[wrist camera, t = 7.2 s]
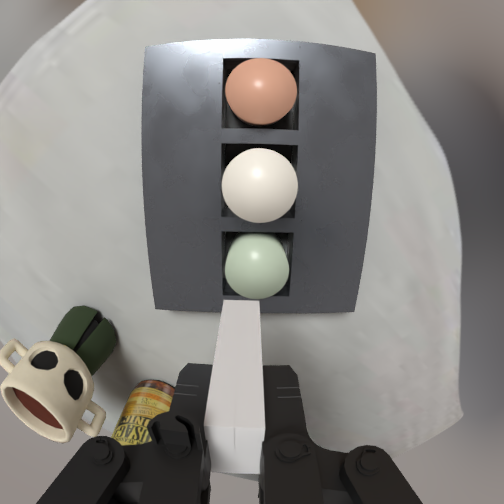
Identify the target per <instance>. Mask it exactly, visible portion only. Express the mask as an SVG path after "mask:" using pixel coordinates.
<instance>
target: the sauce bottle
mask: <svg viewBox="0 0 504 504" xmlns="http://www.w3.org/2000/svg"><path fill="white" fill-rule="evenodd" d="M174 390H175V389H174V388H173V387H171V386H170V385H168V384H166V383H164V382H160V381H156V380H146V381H141V382H140V383H139V384H138V385H137V386H136V387H135V389H134V390H133V391H132V392H131V394H130V396H129V398H128V401H127V403H126V405H125V407H124V409H123V412H122V414H121V416H120V418H119V420H118V422H117V425H116V427H115V429H114V432H113V434H112V436H111V438H114V439H115V440H116V441H118V442H119V443H120V444H121V445H135V444H143V443H148V442H150V441H152V440H151V437H150V435H149V432H148V430H147V425H148V423H149V422H150V420H151V419H152V418H154V417H155V416H156V415H158V414H161V413H164V412H167V411H169V409H170V405H171V401H172V398H173V395H174Z"/></svg>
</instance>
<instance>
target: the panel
mask: <svg viewBox="0 0 504 504" xmlns="http://www.w3.org/2000/svg"><path fill="white" fill-rule="evenodd" d="M255 58H267V59H271V60H274V61H277V62H279V63H280V64H282V65H284V66H285V67H286V68H287V69H288V70H289V71H293V77H294V79H295V82H296V86H297V96H296V100H295V103H294V105H293V128H292V130H282V129H250V128H225V124H226V92H225V88H226V79H227V69H235V68H236V67H237V66H238V65H239V64H241V63H243V62H245V61H247V60H250V59H255ZM376 117H377V83H376V55H375V53H371V52H366V51H361V50H356V49H351V48H345V47H339V46H332V45H326V44H318V43H309V42H300V41H288V40H271V39H215V40H198V41H186V42H176V43H168V44H160V45H154V46H147V47H145V57H144V71H143V90H142V177H143V197H144V212H145V225H146V237H147V247H148V256H149V265H150V273H151V281H152V289H153V296H154V302H155V309H162V310H179V311H200V312H222V307H223V302H224V300H248V301H259V304H260V313H335V312H354V310H355V305H356V300H357V295H358V290H359V284H360V279H361V273H362V267H363V261H364V254H365V248H366V241H367V234H368V226H369V218H370V209H371V200H372V189H373V177H374V164H375V146H376ZM225 144H276V145H292V161H291V165H292V167H293V168H294V171H295V173H296V176H297V181H298V190H297V195H296V198H295V201H294V203H293V205H292V206H291V208H290V209H289V210H288V211H287V212H286V213H285V214H284V215H283V216H281V217H279V218H278V219H276V220H273V221H270V222H265V223H254V222H249V221H247V220H244V219H242V218H240V217H239V216H237V215H236V214H235V213H233V212H232V210H231V209H230V208H225V200H224V197H223V193H222V179H223V175H224V172H225ZM225 231H235V232H287V233H288V244H287V261H288V264H289V275H288V279H287V281H286V283H285V285H284V286H283V287H282V289H281V290H280V291H278V292H277V293H276V294H274V295H272V296H270V297H267V298H263V299H250V298H246V297H244V296H241V295H240V294H238V293H237V292H235V291H234V290H233V289H232V288H231V286H230V285H229V283H228V282H227V279H226V275H225V265H226V260H225Z"/></svg>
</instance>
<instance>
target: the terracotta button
mask: <svg viewBox="0 0 504 504" xmlns="http://www.w3.org/2000/svg"><path fill="white" fill-rule="evenodd" d="M225 92H226V98H227V101H228V103H229V105H230V107H231V109H232V111H233V112H234V114H235V115H236V116H237V117H238V118H239V119H240V120H241V121H242V122H244V123H246V124H248V125H251V126H257V127H264V126H269V125H272V124H274V123H276V122H278V121H279V120H280V119H281V118H283V117H284V116H285V115H286V114H287V113H288V112H289V111H290V109H291V108H292V107H293V105H294V103H295V100H296V96H297V86H296V82H295V79H294V77H293V75H292V74H291V72H290V71H289V70H288V69H287V68H286V67H285V66H284V65H282V64H280V63H279V62H277V61H274V60H271V59H267V58H255V59H250V60H247V61H245V62H243V63H241V64H239V65H238V66H237V67H236V68H235V69H234V70H233V71H232V72H231V73H230V75H229V77H228V79H227V82H226V88H225Z"/></svg>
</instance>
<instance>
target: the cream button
mask: <svg viewBox="0 0 504 504" xmlns="http://www.w3.org/2000/svg"><path fill="white" fill-rule="evenodd" d="M297 190H298V181H297V176H296V173H295V171H294V168H293V167H292V165H291V164H290V162H289V161H288V160H287V159H286V158H285V157H283V156H282V155H281V154H279V153H277V152H275V151H272V150H269V149H264V148H253V149H249V150H246V151H244V152H242V153H241V154H239V155H238V156H236V157H235V158H234V159H233V160H232V161H231V162H230V163H229V165H228V166H227V168H226V170H225V172H224V175H223V179H222V193H223V197H224V200H225V202H226V204H227V205H228V207H229V208H230V209H231V210H232V212H233V213H235V214H236V215H237V216H239V217H240V218H242V219H244V220H247V221H249V222H254V223H265V222H270V221H273V220H276V219H278V218H279V217H281V216H283V215H284V214H285V213H286V212H287V211H288V210H289V209H290V208H291V206H292V205H293V203H294V201H295V198H296V195H297Z"/></svg>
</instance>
